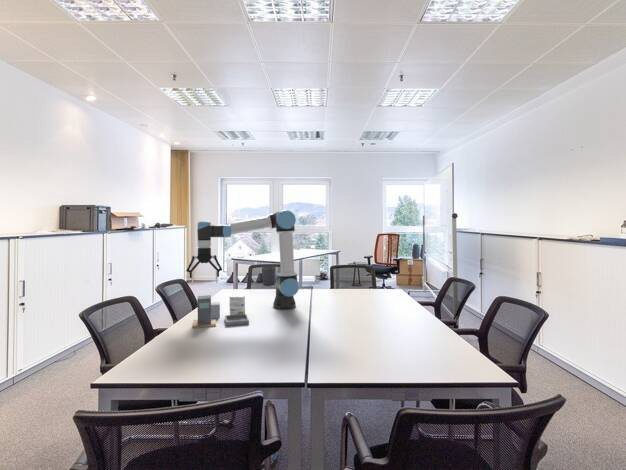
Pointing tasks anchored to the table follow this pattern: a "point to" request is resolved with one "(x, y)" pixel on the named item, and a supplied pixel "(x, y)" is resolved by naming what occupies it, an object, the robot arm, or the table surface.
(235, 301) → the ink box
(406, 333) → the table surface
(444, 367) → the table surface
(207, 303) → the mounted unit
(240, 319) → the tray
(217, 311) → the grey block
